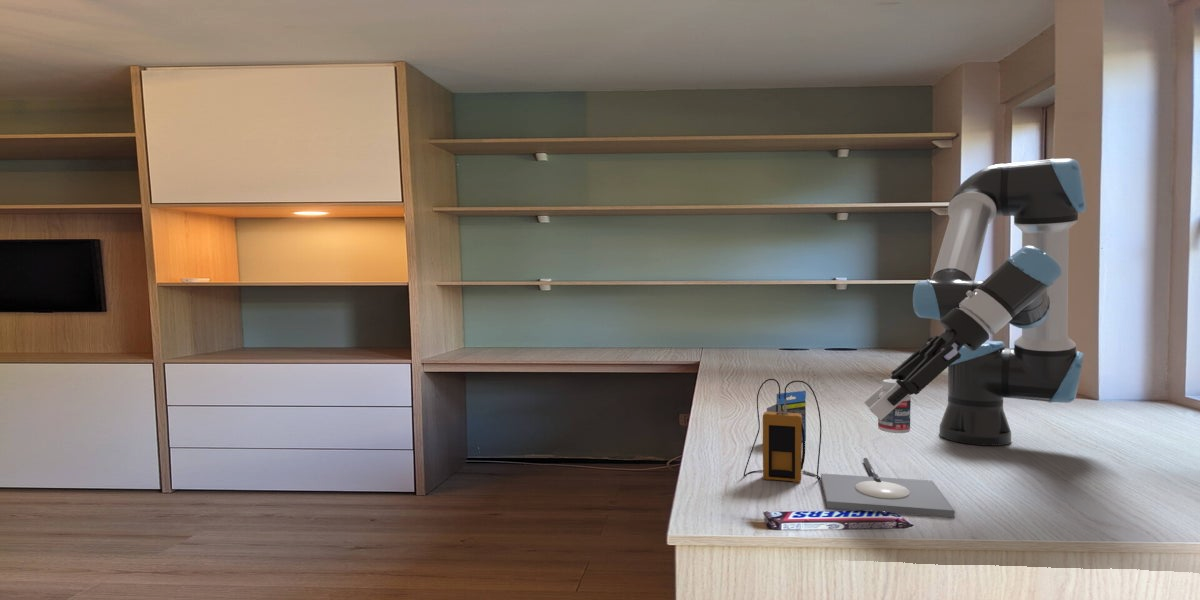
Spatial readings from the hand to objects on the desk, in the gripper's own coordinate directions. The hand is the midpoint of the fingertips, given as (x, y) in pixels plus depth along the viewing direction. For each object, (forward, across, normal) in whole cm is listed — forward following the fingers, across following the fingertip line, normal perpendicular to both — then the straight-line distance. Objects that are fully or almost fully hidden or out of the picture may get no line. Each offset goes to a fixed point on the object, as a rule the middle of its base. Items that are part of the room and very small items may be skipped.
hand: (872, 410), depth 121 cm
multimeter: (+22, -10, 0) cm, 24 cm away
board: (+10, -7, +12) cm, 17 cm away
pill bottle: (0, 0, +5) cm, 5 cm away
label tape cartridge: (+21, -36, +2) cm, 42 cm away
